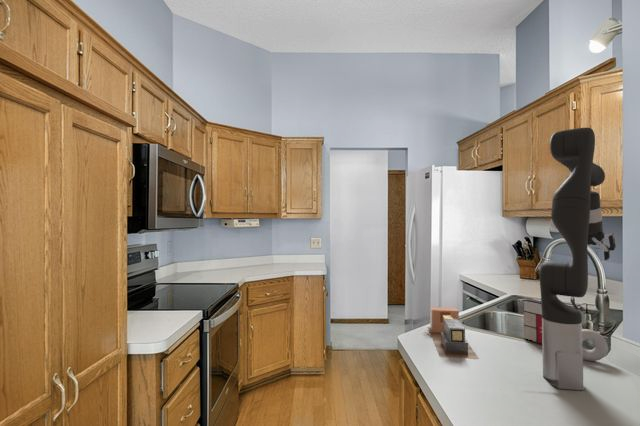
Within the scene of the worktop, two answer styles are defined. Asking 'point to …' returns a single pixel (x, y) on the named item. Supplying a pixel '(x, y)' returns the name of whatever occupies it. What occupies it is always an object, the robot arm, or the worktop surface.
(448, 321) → the sleeve
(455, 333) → the yellow square peg
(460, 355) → the base board
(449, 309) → the socket block
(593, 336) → the donut
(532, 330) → the grey and red box
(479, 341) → the worktop surface
